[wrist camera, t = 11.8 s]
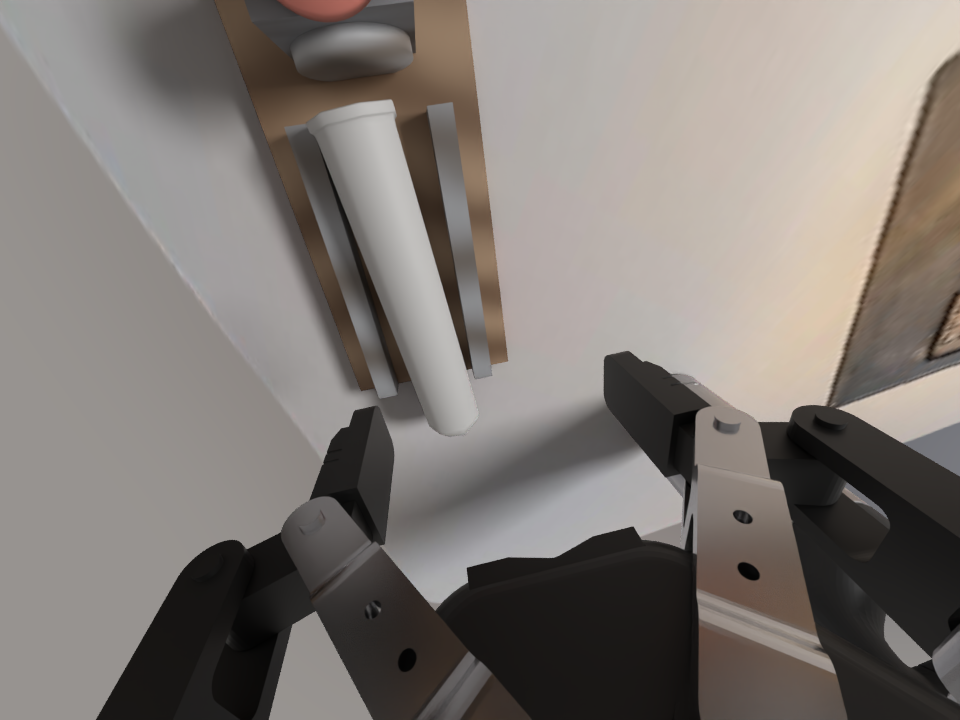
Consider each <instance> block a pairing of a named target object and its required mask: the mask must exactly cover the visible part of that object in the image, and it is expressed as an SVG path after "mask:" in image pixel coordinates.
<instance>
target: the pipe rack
mask: <svg viewBox="0 0 960 720" xmlns="http://www.w3.org/2000/svg"><path fill="white" fill-rule="evenodd" d="M214 1H215V4H216V7H217V9H218V12H219V15H220V17H221V20H222V23H223V25H224V28H225V31H226V33H227V36H228V39H229V41H230V44H231V47H232V49H233V52H234V54H235V57H236V60H237V62H238V65H239V68H240V70H241V73H242V76H243V78H244V81H245V84H246V86H247V89H248V92H249V94H250V97H251V100H252V102H253V105H254V108H255V110H256V113H257V116H258V118H259V121H260V124H261V126H262V129H263V132H264V134H265V137H266V140H267V142H268V145H269V148H270V150H271V153H272V155H273V158H274V161H275V163H276V166H277V169H278V171H279V174H280V177H281V179H282V182H283V185H284V187H285V190H286V193H287V195H288V198H289V201H290V203H291V206H292V209H293V211H294V214H295V217H296V219H297V222H298V225H299V227H300V230H301V233H302V235H303V238H304V241H305V243H306V246H307V249H308V251H309V254H310V256H311V259H312V262H313V264H314V267H315V270H316V272H317V275H318V278H319V280H320V283H321V286H322V288H323V291H324V294H325V296H326V299H327V302H328V304H329V307H330V310H331V312H332V315H333V318H334V320H335V323H336V326H337V328H338V331H339V334H340V336H341V339H342V342H343V344H344V347H345V350H346V352H347V355H348V358H349V360H350V363H351V365H352V368H353V371H354V373H355V376H356V379H357V381H358V384H359V387H360V389H361V391H363V390H368V389H373V388H376V391H377V394H378V397H379V399H381V398H386V397H391V396H396V395H397V393H398V384H399V383H403V382H408V381H411V378H410V375H409V373H408V370H407V368H406V365H405V363H404V360H403V358H402V355H401V353H400V350H399V347H398V345H397V342H396V340H395V337H394V335H393V332H392V330H391V327H390V325H389V322H388V319H387V317H386V314H385V312H384V309H383V307H382V304H381V302H380V299H379V297H378V294H377V292H376V289H375V286H374V284H373V281H372V279H371V276H370V274H369V271H368V269H367V266H366V264H365V261H364V258H363V256H362V253H361V251H360V248H359V246H358V243H357V241H356V238H355V236H354V233H353V231H352V228H351V225H350V223H349V220H348V218H347V215H346V213H345V210H344V208H343V205H342V203H341V200H340V197H339V195H338V192H337V190H336V187H335V185H334V182H333V180H332V177H331V175H330V172H329V169H328V167H327V164H326V162H325V159H324V157H323V154H322V152H321V149H320V147H319V144H318V142H317V140H316V138H315V136H314V135H312V134H310V132H309V130H308V128H307V125H306V122H307V121H309V120H310V119H312V118H313V117H314V116H316V115H317V114H318V113H320V112H323V111H327V110H331V109H335V108H338V107H342V106H346V105H350V104H354V103H358V102H368V101H378V100H388V99H391V100H392V101H393V104H394V107H395V111H396V114H397V117H396V118H395V123H396V127H397V131H398V134H399V138H400V141H401V145H402V148H403V152H404V155H405V159H406V162H407V166H408V169H409V172H410V176H411V179H412V183H413V186H414V190H415V193H416V197H417V200H418V204H419V207H420V211H421V214H422V217H423V221H424V224H425V228H426V231H427V235H428V238H429V242H430V245H431V249H432V252H433V256H434V259H435V262H436V266H437V269H438V273H439V276H440V280H441V283H442V287H443V290H444V294H445V297H446V301H447V304H448V307H449V311H450V314H451V318H452V321H453V325H454V328H455V332H456V335H457V339H458V342H459V346H460V349H461V352H462V356H463V359H464V363H465V366H466V370H467V369H472V370H473V374H474V378H475V379H479V378H484V377H489V376H492V369H491V365H492V364H497V363H502V362H507V361H508V357H507V348H506V340H505V331H504V322H503V314H502V305H501V297H500V288H499V279H498V271H497V262H496V254H495V245H494V237H493V228H492V219H491V211H490V202H489V194H488V185H487V176H486V168H485V159H484V151H483V142H482V134H481V125H480V116H479V108H478V99H477V91H476V82H475V74H474V65H473V56H472V48H471V39H470V31H469V22H468V13H467V5H466V0H214Z"/></svg>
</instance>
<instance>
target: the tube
mask: <svg viewBox="0 0 960 720" xmlns="http://www.w3.org/2000/svg"><path fill="white" fill-rule="evenodd" d="M396 117H397V114H396V111H395V107H394V104H393V101H392V100H391V99H388V100H378V101H368V102H358V103H354V104H350V105H346V106H342V107H338V108H335V109H331V110H327V111H323V112H320V113H318V114H317V115H316V116H314V117H313V118H312V119H310V120H309V121H307V122H306V125H307V128H308V130H309V132H310V134H312V135H314V136H315V138H316V140H317V142H318V144H319V147H320V149H321V152H322V154H323V157H324V159H325V162H326V164H327V167H328V169H329V172H330V175H331V177H332V180H333V182H334V185H335V187H336V190H337V192H338V195H339V197H340V200H341V203H342V205H343V208H344V210H345V213H346V215H347V218H348V220H349V223H350V225H351V228H352V231H353V233H354V236H355V238H356V241H357V243H358V246H359V248H360V251H361V253H362V256H363V258H364V261H365V264H366V266H367V269H368V271H369V274H370V276H371V279H372V281H373V284H374V286H375V289H376V292H377V294H378V297H379V299H380V302H381V304H382V307H383V309H384V312H385V314H386V317H387V319H388V322H389V325H390V327H391V330H392V332H393V335H394V337H395V340H396V342H397V345H398V347H399V350H400V353H401V355H402V358H403V360H404V363H405V365H406V368H407V370H408V373H409V375H410V378H411V381H412V383H413V386H414V388H415V391H416V393H417V396H418V398H419V401H420V403H421V406H422V408H423V411H424V414H425V416H426V419H427V421H428V424H429V426H430V427H431V428H432V429H434V430H435V431H436V432H438V433H439V434H442V435H445V436H448V437H451V436H463V435H466V433H467V432H468V431H469V430H470V428H471V427H472V426H473V425H474V423H475V422H476V420H477V418H478V416H479V413H478V409H477V405H476V401H475V397H474V394H473V391H472V387H471V384H470V380H469V377H468V373H467V370H466V366H465V363H464V359H463V356H462V352H461V349H460V346H459V342H458V339H457V335H456V332H455V328H454V325H453V321H452V318H451V314H450V311H449V307H448V304H447V301H446V297H445V294H444V290H443V287H442V283H441V280H440V276H439V273H438V269H437V266H436V262H435V259H434V256H433V252H432V249H431V245H430V242H429V238H428V235H427V231H426V228H425V224H424V221H423V217H422V214H421V211H420V207H419V204H418V200H417V197H416V193H415V190H414V186H413V183H412V179H411V176H410V172H409V169H408V166H407V162H406V159H405V155H404V152H403V148H402V145H401V141H400V138H399V134H398V131H397V127H396V123H395V118H396Z"/></svg>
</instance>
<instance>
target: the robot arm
mask: <svg viewBox="0 0 960 720" xmlns="http://www.w3.org/2000/svg"><path fill="white" fill-rule="evenodd" d="M604 398H605V401H606V404H607V406H608V408H609V409H610V411H611V412H612V413H613V414H614V416H615V417H616V418H617V419H618V420H619V422H620V423H621V424H622V425H623V427H624V428H625V429H626V430H627V431H628V433H629V434H630V435H631V436H632V437H633V439H634V440H635V441H636V442H637V444H638V445H639V446H640V447H641V448H642V450H643V451H644V452H645V453H646V454H647V456H648V457H649V458H650V459H651V461H652V462H653V463H654V464H655V465H656V467H657V468H658V469H659V470H660V472H661V473H662V474H663V475H664V476H665V478H667V479H668V480H669V481H670V483H671V484H672V485H673V486H674V487H675V489H676V490H677V491H678V492H679V494H680V495H681V496H682V497H683V509H682V528H681V544H680V548H678V547H675V546H673V545H670V544H665V543H661V542H657V541H649V540H641V538H640V537H639V535H638V533H637V532H636V530H635V528H634V527H629V528H625V529H621V530H617V531H613V532H609V533H605V534H601V535H597V536H593V537H591V538H590V539H588V540H586V541H584V542H583V543H581V544H579V545H577V546H576V547H574V548H572V549H570V550H569V551H567V552H565V553H563V554H562V555H560V556H558V557H555V558H511V557H508V558H504V559H500V560H496V561H492V562H488V563H484V564H480V565H476V566H472V567H468V568H467V575H468V583H467V584H465V585H463V586H461V587H460V588H459V589H457V590H456V591H455V592H453V593H452V594H451V595H450V596H449V597H448V598H447V599H445V600H444V601H443V602H442V604H441V605H440V606H439V607H438V608H437V610H436V611H435V610H434V609H433V608H432V607H431V606H430V605H429V603H428V602H427V601H426V600H425V599H424V597H423V596H422V595H421V594H420V593H419V591H418V590H417V589H416V588H415V587H414V586H413V584H412V583H411V582H410V581H409V580H408V579H407V577H406V576H405V575H404V574H403V573H402V571H401V570H400V569H399V568H398V567H397V566H396V564H395V563H394V562H393V561H392V560H391V558H390V557H389V556H388V555H387V554H386V553H385V551H384V550H383V549H382V548H381V547H380V545H384V544H385V537H386V528H387V519H388V510H389V501H390V492H391V483H392V473H393V464H394V447H393V443H392V439H391V437H390V434H389V431H388V429H387V426H386V424H385V421H384V418H383V416H382V413H381V411H380V408H379V407H378V406H373V407H368V408H364V409H359V410H355V411H354V413H353V416H352V419H351V422H350V425H349V427H346V428H341V429H340V431H339V432H338V433H337V434H336V435H335V436H334V438H333V439H332V440H331V443H330V445H329V448H328V451H327V455H326V456H325V459H324V462H323V463H324V465H322V467H321V470H320V473H319V475H318V478H317V481H316V484H315V487H314V489H313V492H312V495H311V497H310V500H309V501H308V502H306V503H304V504H303V505H301V506H300V507H298V508H297V509H296V510H295V511H294V512H293V513H292V514H291V515H290V516H289V517H288V519H287V520H286V521H285V523H284V525H283V527H282V530H281V532H280V533H279V534H277V535H275V536H273V537H271V538H269V539H267V540H265V541H263V542H261V543H259V544H257V545H255V546H253V547H251V548H249V549H246V548H245V547H244V546H243V545H242V543H240V542H239V541H237V540H227V541H223V542H220V543H217V544H215V545H213V546H211V547H209V548H208V549H206V550H205V551H203V552H202V553H200V554H199V555H198V556H197V557H195V558H194V559H193V560H192V561H191V562H190V563H189V564H188V565H187V566H186V567H185V568H184V569H183V571H182V572H181V573H180V575H179V576H178V578H177V580H176V582H175V583H174V585H173V587H172V588H171V590H170V592H169V594H168V596H167V597H166V599H165V601H164V602H163V604H162V606H161V607H160V609H159V611H158V613H157V614H156V616H155V618H154V620H153V622H152V623H151V625H150V627H149V628H148V630H147V632H146V634H145V635H144V637H143V639H142V641H141V642H140V644H139V646H138V648H137V649H136V651H135V653H134V654H133V656H132V658H131V660H130V662H129V663H128V665H127V667H126V668H125V670H124V672H123V674H122V675H121V677H120V679H119V681H118V682H117V684H116V686H115V687H114V689H113V691H112V693H111V695H110V696H109V698H108V700H107V701H106V703H105V705H104V707H103V709H102V710H101V712H100V714H99V716H98V717H97V719H96V720H269V716H270V712H271V708H272V703H273V700H274V696H275V692H276V688H277V684H278V679H279V676H280V672H281V668H282V664H283V660H284V656H285V652H286V648H287V644H288V640H289V635H290V632H291V628H292V624H294V623H296V622H298V621H299V620H301V619H303V618H304V617H306V616H308V615H309V614H311V613H313V612H315V611H316V612H317V614H318V616H319V618H320V620H321V622H322V623H323V625H324V627H325V629H326V631H327V633H328V635H329V637H330V639H331V641H332V642H333V644H334V646H335V648H336V650H337V652H338V654H339V656H340V658H341V659H342V662H343V663H344V665H345V667H346V669H347V671H348V673H349V675H350V677H351V679H352V681H353V682H354V684H355V686H356V688H357V690H358V692H359V694H360V696H361V698H362V700H363V701H364V703H365V705H366V707H367V709H368V711H369V713H370V715H371V717H372V719H373V720H960V476H958V475H956V474H954V473H953V472H951V471H949V470H947V469H946V468H944V467H942V466H940V465H939V464H937V463H935V462H934V461H932V460H930V459H928V458H927V457H925V456H923V455H922V454H920V453H918V452H916V451H914V450H913V449H911V448H909V447H908V446H906V445H904V444H903V443H901V442H899V441H897V440H896V439H894V438H892V437H890V436H889V435H887V434H885V433H884V432H882V431H880V430H878V429H877V428H875V427H873V426H871V425H870V424H868V423H866V422H865V421H863V420H861V419H859V418H858V417H856V416H854V415H852V414H850V413H847V412H845V411H842V410H839V409H835V408H831V407H826V406H818V405H807V406H801V407H798V408H796V409H795V410H794V411H793V413H792V415H791V418H790V421H789V422H757V421H756V420H755V419H754V418H753V417H752V416H750V415H748V414H747V413H745V412H743V411H740V410H737V409H736V408H734V407H733V406H732V405H730V404H729V403H727V402H726V401H725V400H723V399H722V398H721V397H719V396H718V395H716V394H715V393H714V392H712V391H711V390H709V389H708V388H707V387H705V386H704V385H702V384H701V383H700V382H698V381H697V380H696V379H694V378H693V377H690V376H688V375H681V374H676V375H671V374H670V373H668V372H667V371H666V370H664V369H663V368H662V367H660V366H657V365H655V364H652V363H650V362H647V361H645V362H642V361H641V360H640V359H638V358H637V357H636V356H635V355H633V354H632V353H631V352H629V351H625V352H620V353H616V354H611V355H607V356H606V357H605V359H604ZM847 482H848V483H849V484H850V485H852V486H853V487H854V488H856V489H857V490H858V491H860V492H861V493H862V494H864V495H865V496H866V497H868V498H869V499H870V500H872V501H873V502H874V503H875V504H877V505H878V506H879V507H880V508H881V509H882V510H883V511H884V512H885V514H886V515H887V517H888V519H889V520H888V519H887V518H886V517H884V516H883V515H882V514H880V513H879V512H877V511H876V510H875V509H873V508H872V507H870V506H869V505H868V504H866V503H865V502H864V501H862V500H861V499H860V498H858V497H857V496H856V495H854V494H853V493H851V492H850V491H849V490H847V489H846V488H845V485H846V483H847ZM886 614H887V615H889V617H890V618H892V619H893V620H894V621H895V622H896V623H897V624H898V625H899V626H900V627H901V628H902V629H903V630H904V631H905V632H906V633H907V634H908V635H909V636H910V637H911V638H912V639H913V640H914V641H915V642H916V643H917V644H918V645H919V646H920V647H921V648H922V649H923V650H924V651H925V652H926V653H927V654H928V655H929V656H930V657H931V658H932V659H931V660H929V661H927V662H924V663H922V664H919V665H918V666H915V667H912V668H910V667H908V666H907V665H906V664H904V663H903V662H902V661H901V660H900V659H899V658H898V657H897V655H896V654H895V653H894V652H893V650H892V649H891V648H890V647H889V645H888V644H887V642H886V641H885V639H884V622H885V616H886Z"/></svg>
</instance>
